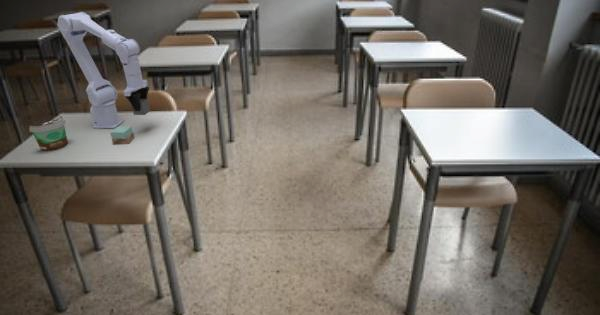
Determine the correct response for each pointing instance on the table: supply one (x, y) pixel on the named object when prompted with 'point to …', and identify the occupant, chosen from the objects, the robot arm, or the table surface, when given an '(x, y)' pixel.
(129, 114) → the table surface
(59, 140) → the food container
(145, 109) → the charcoal block
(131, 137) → the walnut slab
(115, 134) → the teal slab
